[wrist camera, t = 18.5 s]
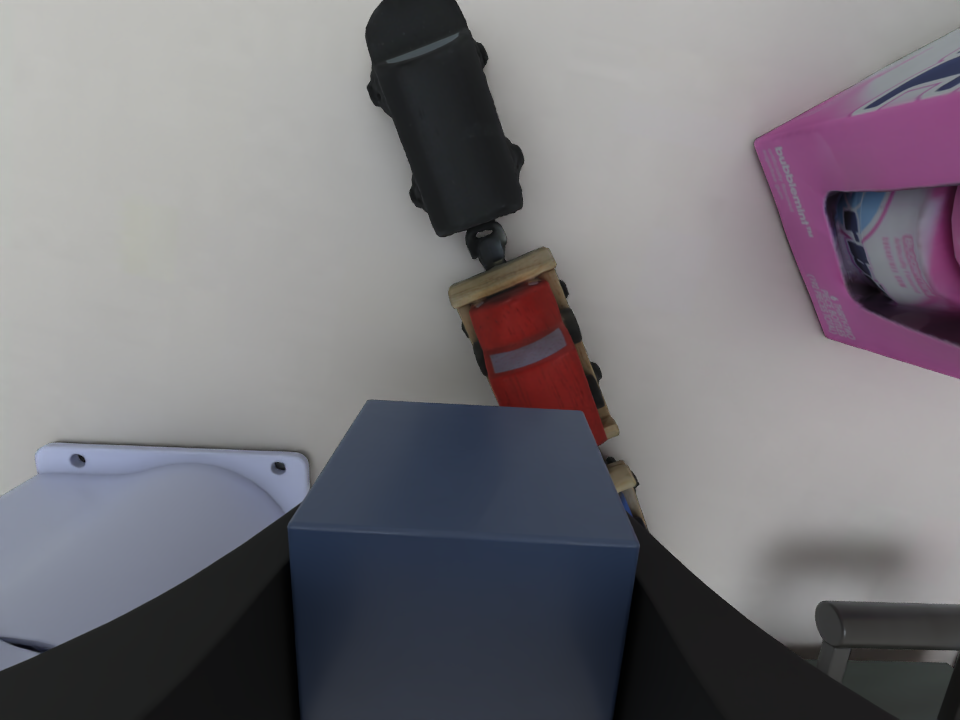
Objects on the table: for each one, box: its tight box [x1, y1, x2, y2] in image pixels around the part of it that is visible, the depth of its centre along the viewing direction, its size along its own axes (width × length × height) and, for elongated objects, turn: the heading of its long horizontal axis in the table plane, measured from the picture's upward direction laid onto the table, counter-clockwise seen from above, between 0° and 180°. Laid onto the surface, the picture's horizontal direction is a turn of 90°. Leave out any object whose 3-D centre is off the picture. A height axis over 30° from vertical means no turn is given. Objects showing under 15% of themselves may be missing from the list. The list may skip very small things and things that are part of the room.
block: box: [287, 400, 640, 720], centre depth 9 cm, size 4×4×4 cm
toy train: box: [365, 0, 649, 532], centre depth 16 cm, size 4×22×5 cm, turn 21°
